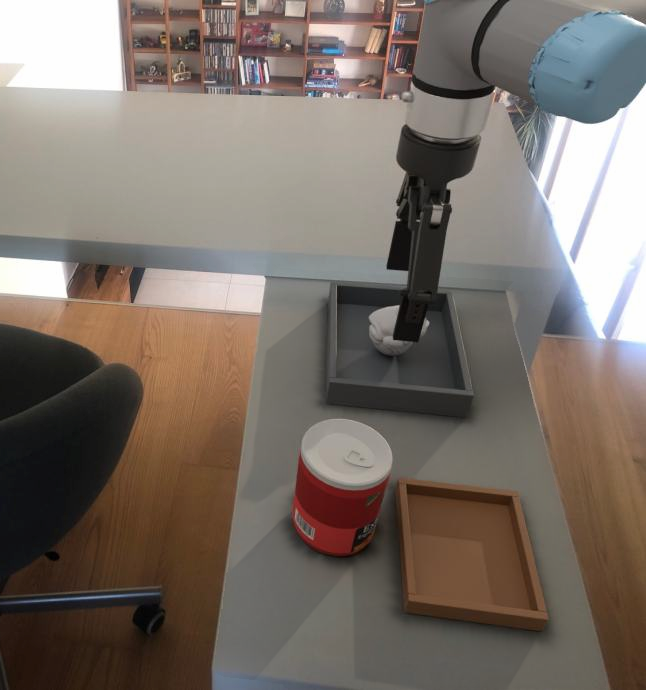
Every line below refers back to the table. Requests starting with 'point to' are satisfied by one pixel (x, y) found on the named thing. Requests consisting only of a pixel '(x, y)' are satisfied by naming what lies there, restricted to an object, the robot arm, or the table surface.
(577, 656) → the table surface
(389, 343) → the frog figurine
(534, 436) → the table surface
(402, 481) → the tray
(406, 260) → the robot arm
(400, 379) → the tub
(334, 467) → the canned food
